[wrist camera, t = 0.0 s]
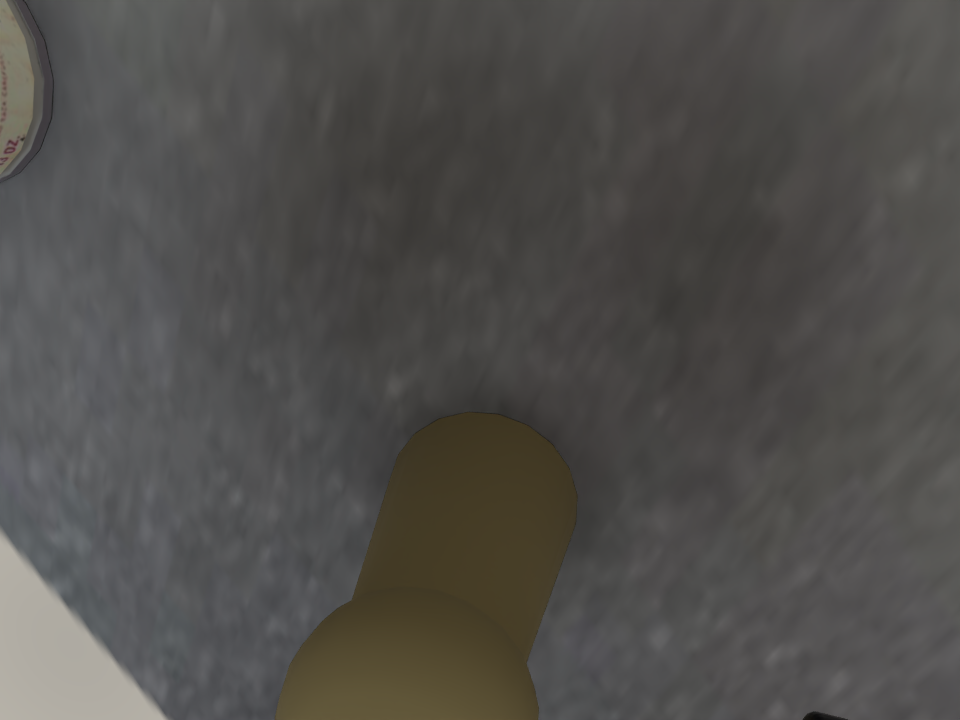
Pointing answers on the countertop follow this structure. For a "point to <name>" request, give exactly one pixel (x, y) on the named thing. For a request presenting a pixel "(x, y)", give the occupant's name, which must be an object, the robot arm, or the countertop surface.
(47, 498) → the countertop surface
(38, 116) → the aerosol can
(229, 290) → the countertop surface
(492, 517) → the olive knobbed peg
